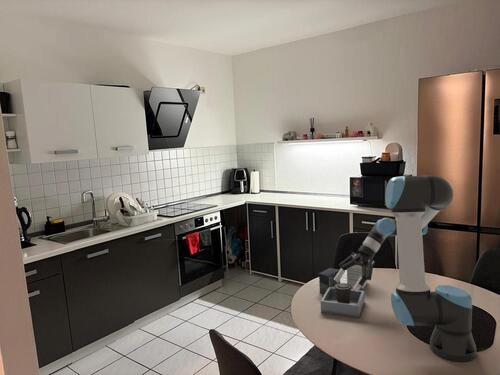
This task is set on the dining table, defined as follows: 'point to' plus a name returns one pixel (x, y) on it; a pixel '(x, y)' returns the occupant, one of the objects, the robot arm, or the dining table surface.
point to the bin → (344, 309)
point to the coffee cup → (343, 292)
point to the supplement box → (355, 275)
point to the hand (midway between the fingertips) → (345, 285)
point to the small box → (327, 279)
